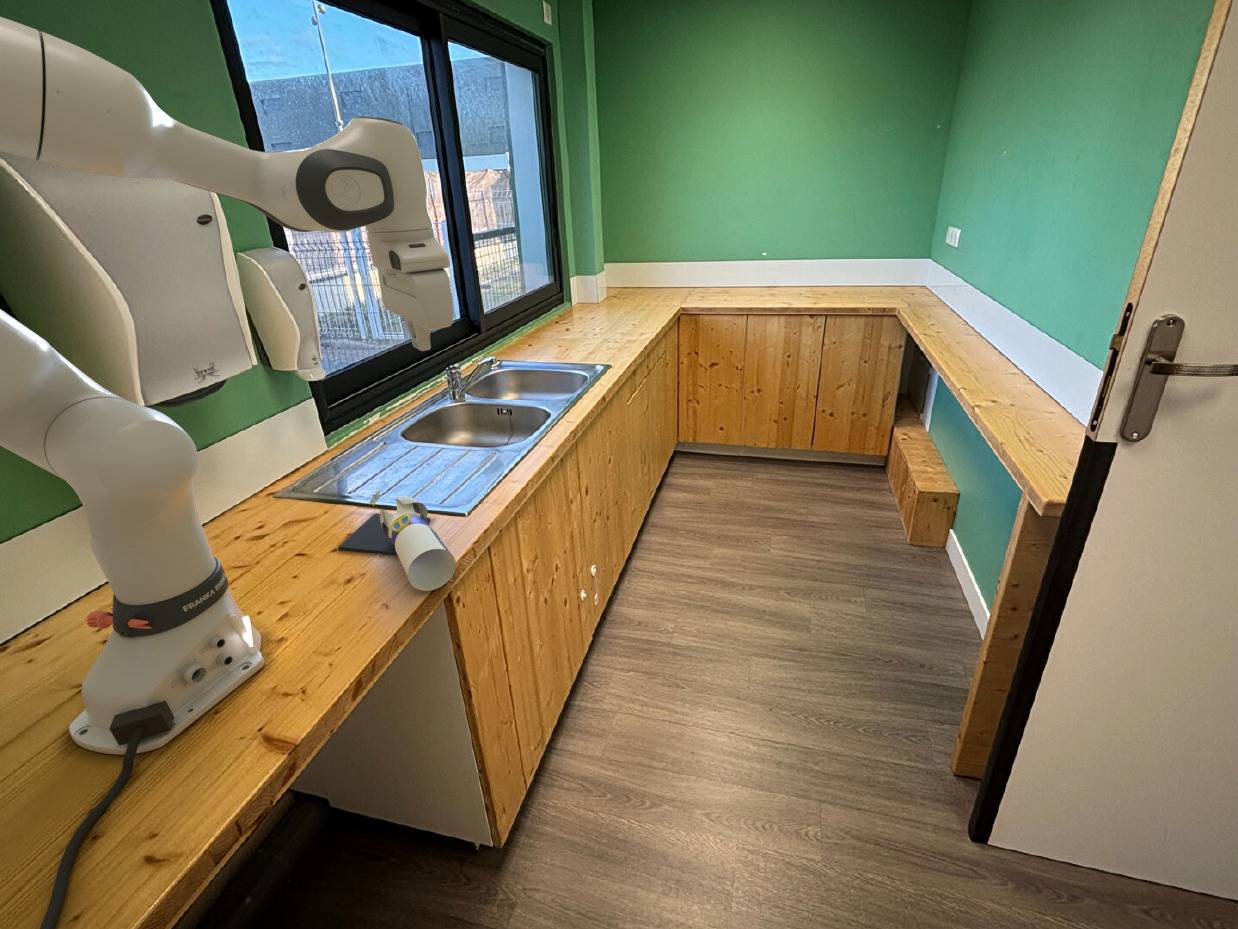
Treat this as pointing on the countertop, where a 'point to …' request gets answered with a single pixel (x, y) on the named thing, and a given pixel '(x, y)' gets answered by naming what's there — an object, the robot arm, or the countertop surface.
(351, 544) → the mat
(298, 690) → the countertop surface
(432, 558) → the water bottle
